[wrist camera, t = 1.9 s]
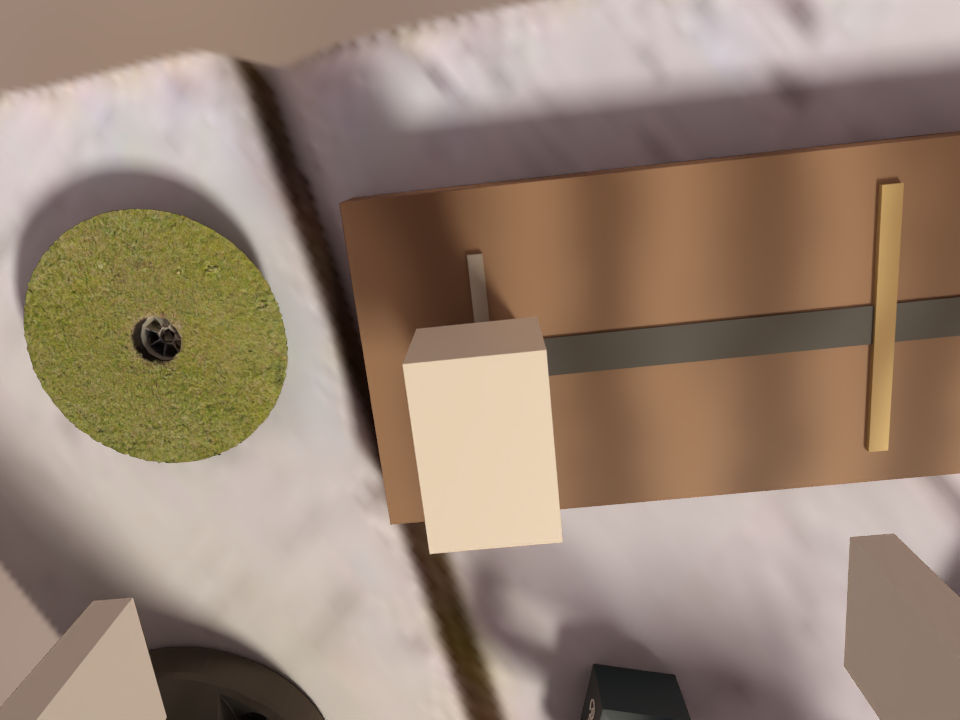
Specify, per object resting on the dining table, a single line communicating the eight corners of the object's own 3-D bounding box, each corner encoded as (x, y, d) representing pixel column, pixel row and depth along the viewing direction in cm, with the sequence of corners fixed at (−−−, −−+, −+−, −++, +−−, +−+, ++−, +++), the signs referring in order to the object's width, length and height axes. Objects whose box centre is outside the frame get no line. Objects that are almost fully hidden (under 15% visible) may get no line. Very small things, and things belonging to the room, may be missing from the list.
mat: (342, 290, 32) (333, 299, 30) (232, 487, 35) (218, 506, 33) (107, 154, 30) (81, 154, 29) (12, 371, 33) (-17, 384, 31)
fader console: (398, 493, 35) (390, 527, 32) (353, 197, 31) (337, 203, 28) (1082, 430, 33) (1143, 459, 30) (1127, 112, 29) (1202, 108, 26)
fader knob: (446, 437, 30) (429, 553, 22) (428, 297, 29) (402, 363, 20) (541, 428, 30) (562, 542, 22) (529, 287, 28) (546, 349, 20)
